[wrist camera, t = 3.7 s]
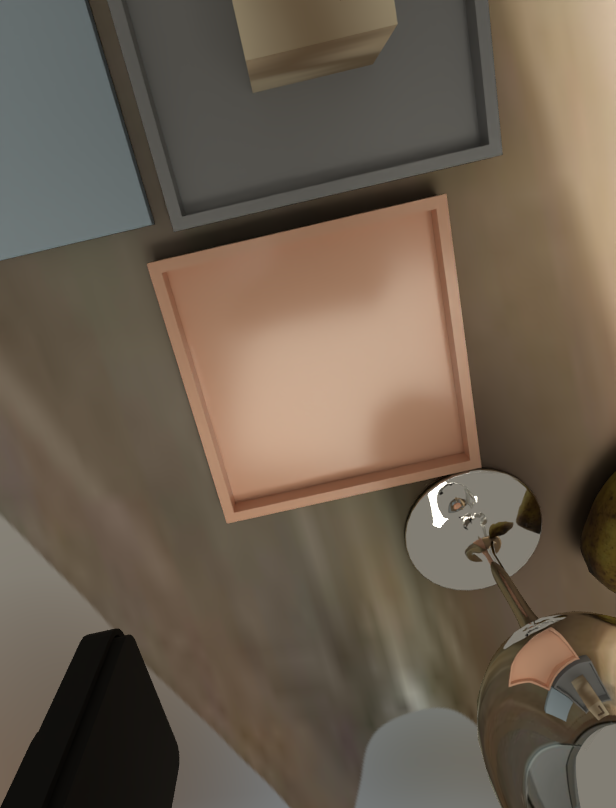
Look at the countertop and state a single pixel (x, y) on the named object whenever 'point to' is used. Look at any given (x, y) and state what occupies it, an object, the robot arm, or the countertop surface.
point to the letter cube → (310, 37)
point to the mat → (61, 133)
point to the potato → (602, 536)
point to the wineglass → (524, 648)
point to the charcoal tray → (304, 108)
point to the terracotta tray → (324, 357)
